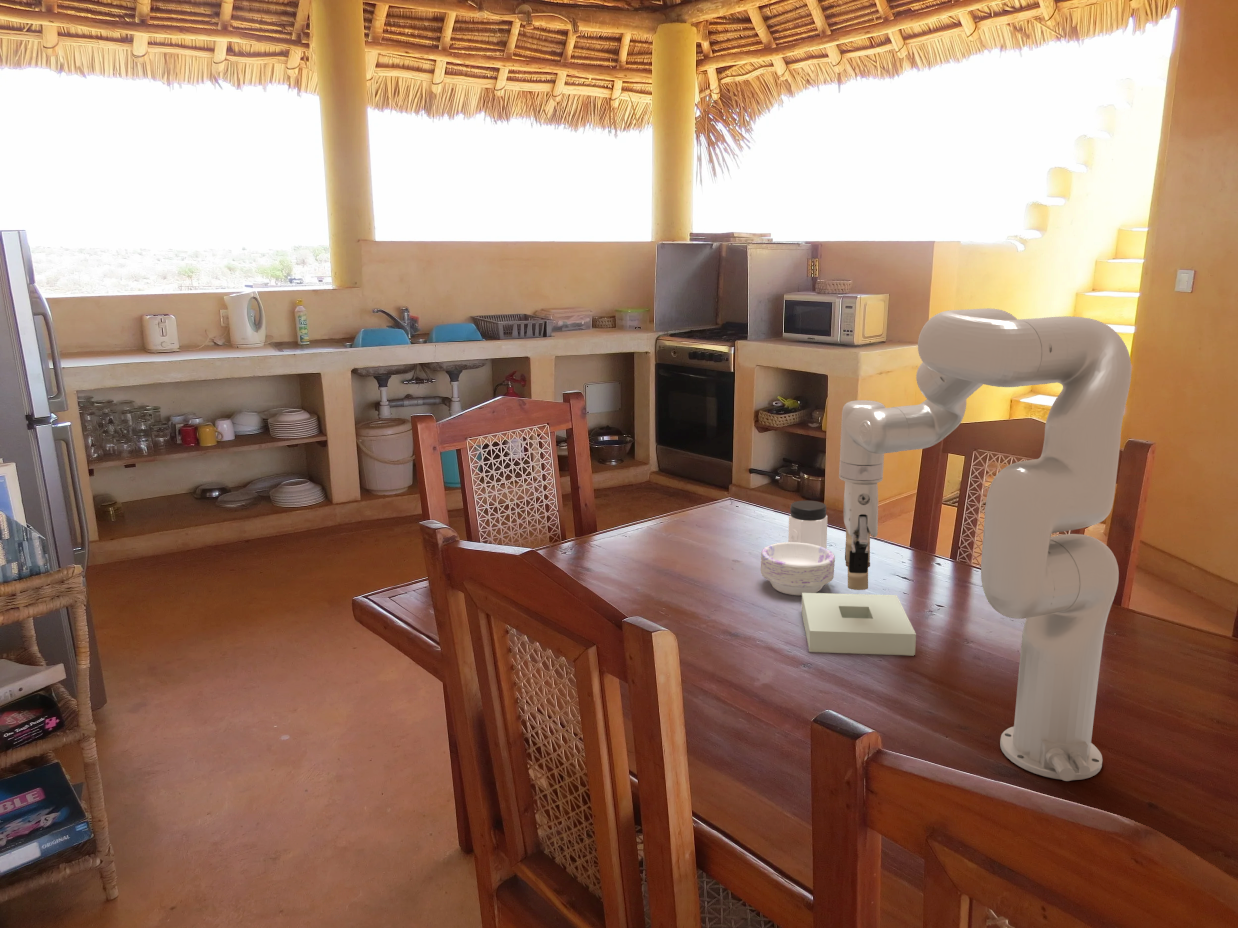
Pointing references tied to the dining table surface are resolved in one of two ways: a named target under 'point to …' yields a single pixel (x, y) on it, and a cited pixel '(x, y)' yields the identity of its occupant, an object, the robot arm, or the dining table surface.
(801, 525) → the jar
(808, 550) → the paper bowls
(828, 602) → the board
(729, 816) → the dining table surface
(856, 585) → the peg
